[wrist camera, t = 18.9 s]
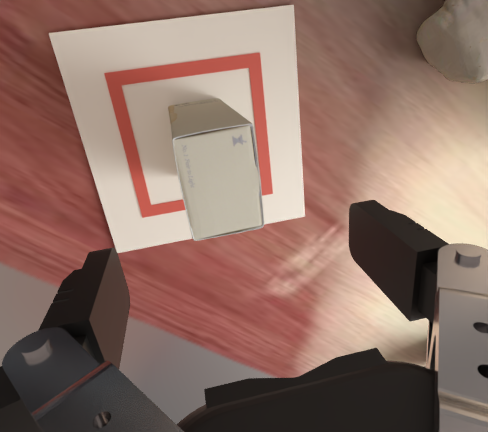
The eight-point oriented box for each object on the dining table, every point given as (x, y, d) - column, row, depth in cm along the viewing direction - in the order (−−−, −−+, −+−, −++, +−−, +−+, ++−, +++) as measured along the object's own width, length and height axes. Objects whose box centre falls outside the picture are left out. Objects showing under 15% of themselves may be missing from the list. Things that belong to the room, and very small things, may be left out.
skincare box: (167, 105, 28) (166, 132, 17) (221, 96, 29) (254, 118, 18) (182, 179, 31) (189, 244, 20) (232, 170, 31) (266, 228, 20)
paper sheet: (292, 5, 28) (294, 4, 27) (303, 214, 35) (305, 216, 35) (50, 33, 25) (47, 33, 25) (117, 251, 33) (116, 253, 32)
